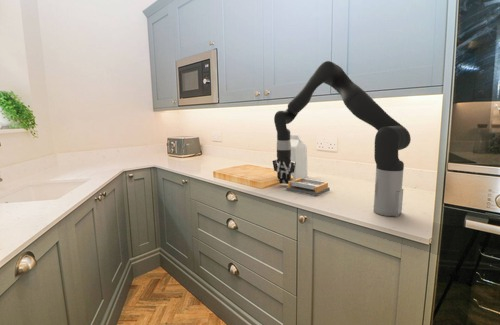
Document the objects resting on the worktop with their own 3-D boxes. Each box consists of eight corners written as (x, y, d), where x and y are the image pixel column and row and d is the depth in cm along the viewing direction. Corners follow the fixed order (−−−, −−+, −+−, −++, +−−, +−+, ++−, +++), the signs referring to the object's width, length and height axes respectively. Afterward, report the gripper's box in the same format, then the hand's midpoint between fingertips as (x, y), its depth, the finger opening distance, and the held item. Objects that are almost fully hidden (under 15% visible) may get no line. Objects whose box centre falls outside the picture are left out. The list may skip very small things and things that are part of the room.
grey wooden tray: (324, 185, 139) (324, 181, 138) (314, 189, 131) (314, 185, 131) (302, 181, 147) (302, 177, 147) (291, 185, 140) (291, 181, 139)
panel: (329, 189, 139) (329, 182, 138) (316, 196, 129) (316, 188, 128) (300, 184, 150) (300, 177, 150) (286, 190, 140) (286, 182, 139)
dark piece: (276, 184, 148) (275, 165, 146) (277, 181, 153) (277, 164, 151) (288, 184, 146) (288, 166, 144) (289, 182, 151) (289, 164, 149)
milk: (280, 176, 170) (280, 134, 166) (292, 173, 178) (292, 133, 173) (295, 180, 161) (296, 135, 157) (307, 176, 169) (308, 134, 164)
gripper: (299, 148, 144) (299, 180, 147) (277, 147, 153) (277, 176, 156) (291, 150, 138) (291, 183, 141) (268, 148, 148) (269, 179, 151)
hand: (283, 179), depth 149 cm, fingers closed on dark piece, 5 cm apart
